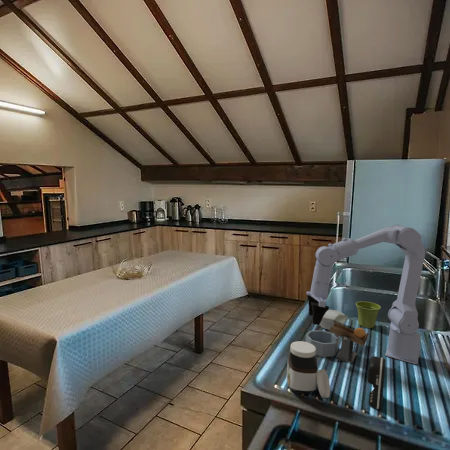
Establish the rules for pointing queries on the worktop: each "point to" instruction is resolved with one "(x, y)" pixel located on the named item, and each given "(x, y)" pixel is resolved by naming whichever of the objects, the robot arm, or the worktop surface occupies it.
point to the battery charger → (376, 381)
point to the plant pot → (367, 313)
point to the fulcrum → (346, 350)
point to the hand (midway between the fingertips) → (313, 319)
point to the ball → (359, 333)
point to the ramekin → (329, 319)
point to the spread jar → (306, 370)
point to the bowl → (323, 342)
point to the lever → (346, 330)
